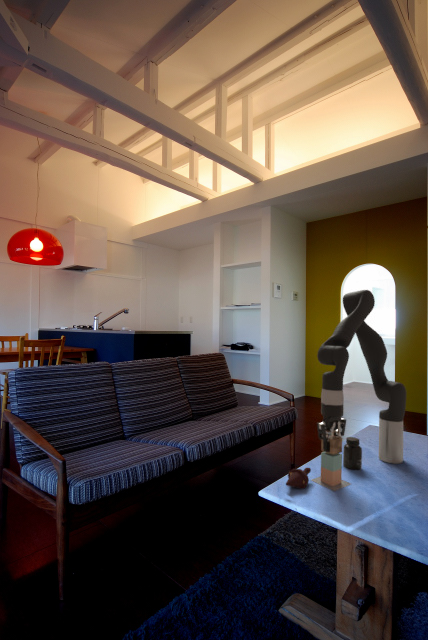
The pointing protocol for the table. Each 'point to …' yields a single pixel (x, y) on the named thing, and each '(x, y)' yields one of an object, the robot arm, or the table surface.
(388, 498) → the table surface
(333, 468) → the teal brick
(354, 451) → the supplement bottle
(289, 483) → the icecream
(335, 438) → the walnut brick
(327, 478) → the base brick
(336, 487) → the plate
